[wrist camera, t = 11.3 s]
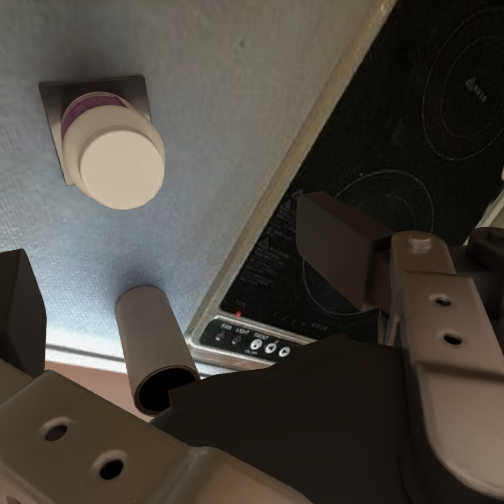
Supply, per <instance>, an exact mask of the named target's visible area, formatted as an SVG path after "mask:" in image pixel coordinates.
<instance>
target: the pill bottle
mask: <svg viewBox="0 0 504 504" xmlns="http://www.w3.org/2000/svg"><path fill="white" fill-rule="evenodd" d="M61 140H62V155H63V161H64V165H65V168H66V170H67V172H68V174H69V176H70V178H71V180H72V181H73V182H74V184H75V185H76V186H77V187H78V188H79V189H80V190H81V191H82V192H84V193H85V194H86V195H88V196H90V197H91V198H93V199H95V200H96V201H98V202H99V203H101V204H103V205H105V206H107V207H110V208H114V209H123V210H125V209H133V208H136V207H139V206H142V205H144V204H145V203H147V202H148V201H150V200H151V199H152V198H153V197H154V196H155V195H156V194H157V192H158V191H159V189H160V187H161V185H162V182H163V178H164V167H165V149H164V145H163V142H162V139H161V137H160V135H159V133H158V131H157V130H156V128H155V127H154V125H153V124H152V123H151V122H150V121H149V120H148V119H147V118H146V117H145V116H143V115H142V114H141V113H140V112H139V111H138V110H136V109H135V108H134V107H133V106H132V105H131V104H129V103H128V102H127V101H126V100H124V99H122V98H121V97H119V96H117V95H114V94H111V93H106V92H92V93H88V94H85V95H83V96H80V97H79V98H77V99H76V100H74V101H73V102H72V103H71V104H70V105H69V106H68V108H67V109H66V111H65V113H64V115H63V118H62V123H61Z"/></svg>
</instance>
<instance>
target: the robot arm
mask: <svg viewBox="0 0 504 504" xmlns="http://www.w3.org/2000/svg"><path fill="white" fill-rule="evenodd" d="M296 244H297V248H298V251H299V253H300V255H301V256H302V257H303V258H304V259H305V260H306V261H307V262H308V263H309V264H310V265H311V266H312V267H313V268H314V269H315V270H317V271H318V272H319V273H320V274H321V275H322V276H323V277H324V278H325V279H326V280H327V281H328V282H329V283H330V284H331V285H333V286H334V287H335V288H336V289H337V290H338V291H339V292H340V293H341V294H342V295H343V296H344V297H345V298H346V299H348V300H349V301H350V302H351V303H352V304H353V305H354V306H355V307H356V308H357V309H358V310H359V311H360V312H365V311H368V310H371V309H374V308H377V307H379V308H380V311H379V317H378V329H379V344H375V343H354V342H353V341H352V340H351V339H350V338H349V337H348V336H347V335H346V334H345V333H344V332H342V333H339V334H336V335H333V336H330V337H327V338H324V339H321V340H318V341H315V342H312V343H309V344H306V345H304V346H303V347H301V348H300V349H298V350H296V351H295V352H293V353H291V354H290V355H288V356H287V357H285V358H283V359H282V360H280V361H279V362H277V363H275V364H274V365H272V366H270V367H268V368H263V369H256V370H248V371H240V372H232V373H224V374H216V375H213V376H210V377H207V378H204V379H201V380H198V381H195V382H192V383H189V384H186V385H183V386H180V387H177V388H174V389H171V390H168V394H169V399H170V404H171V407H169V408H168V409H166V410H164V411H163V412H161V413H160V414H159V415H157V416H156V417H155V418H153V419H152V420H151V421H150V422H149V423H147V422H145V421H144V420H142V419H140V418H138V417H137V416H135V415H133V414H131V413H129V412H127V411H125V410H124V409H122V408H120V407H119V406H117V405H115V404H113V403H111V402H109V401H108V400H106V399H104V398H102V397H100V396H99V395H97V394H95V393H93V392H92V391H90V390H88V389H86V388H84V387H82V386H80V385H79V384H77V383H75V382H74V381H72V380H70V379H68V378H66V377H65V376H62V375H61V374H59V373H57V372H55V371H53V370H45V371H44V368H45V347H46V325H47V317H46V310H45V305H44V301H43V298H42V295H41V292H40V289H39V287H38V284H37V281H36V278H35V276H34V273H33V270H32V267H31V264H30V262H29V259H28V256H27V254H26V252H25V250H24V249H23V248H22V249H16V250H11V251H6V252H1V253H0V504H504V229H502V228H496V227H480V228H476V229H474V230H472V231H471V233H470V236H469V240H468V244H467V245H465V246H447V245H446V243H445V242H444V241H443V240H442V239H441V238H439V237H437V236H435V235H433V234H430V233H426V232H421V231H402V232H399V233H396V232H395V231H393V230H391V229H390V228H388V227H386V226H385V225H383V224H381V223H380V222H378V221H376V220H373V218H371V217H370V216H368V215H364V213H363V212H361V211H360V210H358V209H356V208H355V207H352V206H349V205H346V204H343V203H341V202H340V201H338V200H337V199H335V198H333V197H332V196H330V195H328V194H327V193H325V192H323V191H320V192H315V193H310V194H305V195H301V196H300V197H299V198H298V201H297V224H296Z"/></svg>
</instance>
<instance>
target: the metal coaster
mask: <svg viewBox="0 0 504 504" xmlns="http://www.w3.org/2000/svg"><path fill="white" fill-rule="evenodd" d="M38 87H39V91H40V94H41V98H42V101H43V105H44V108H45V112H46V116H47V119H48V123H49V126H50V130H51V133H52V137H53V141H54V144H55V148H56V151H57V155H58V158H59V162H60V166H61V169H62V173H63V176H64V180H65V183H66V186H69V185H75V184H74V182H73V181H72V180H71V178H70V176H69V174H68V172H67V170H66V168H65V165H64V161H63V155H62V140H61V123H62V118H63V115H64V113H65V111H66V109H67V108H68V106H69V105H70V104H71V103H72V102H73V101H74V100H76V99H77V98H79V97H80V96H83V95H85V94H88V93H92V92H106V93H111V94H114V95H117V96H119V97H121V98H122V99H124V100H126V101H127V102H128V103H129V104H131V105H132V106H133V107H134V108H135V109H136V110H138V111H139V112H140V113H141V114H142V115H143V116H145V117H146V118H147V119H148V120H149V121H150V122H151V116H150V109H149V103H148V97H147V90H146V84H145V78H144V77H131V78H118V79H105V80H93V81H80V82H67V83H54V84H42V85H38ZM151 123H152V122H151Z"/></svg>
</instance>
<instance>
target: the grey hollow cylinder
mask: <svg viewBox="0 0 504 504" xmlns="http://www.w3.org/2000/svg"><path fill="white" fill-rule="evenodd" d="M115 313H116V320H117V325H118V330H119V335H120V339H121V344H122V349H123V354H124V359H125V363H126V368H127V373H128V378H129V382H130V387H131V391H132V397H133V401H134V405H135V407H136V408H137V409H138V410H139V411H140V412H141V413H143V414H144V415H147V416H150V417H156V416H157V415H159V414H160V413H161V412H163V411H164V410H166V409H168V408H169V407H171V404H170V399H169V394H168V390H171V389H174V388H177V387H180V386H183V385H186V384H189V383H192V382H195V381H198V380H201V378H200V375H199V373H198V370H197V368H196V366H195V363H194V361H193V358H192V356H191V354H190V351H189V349H188V347H187V344H186V342H185V339H184V337H183V335H182V332H181V330H180V328H179V325H178V323H177V320H176V318H175V316H174V313H173V311H172V309H171V306H170V304H169V301H168V299H167V298H166V296H165V294H164V293H163V292H162V291H161V290H159V289H157V288H155V287H151V286H140V287H136V288H133V289H131V290H129V291H127V292H126V293H125V294H123V295H122V296H121V298H120V299H119V300H118V302H117V305H116V309H115Z"/></svg>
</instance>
